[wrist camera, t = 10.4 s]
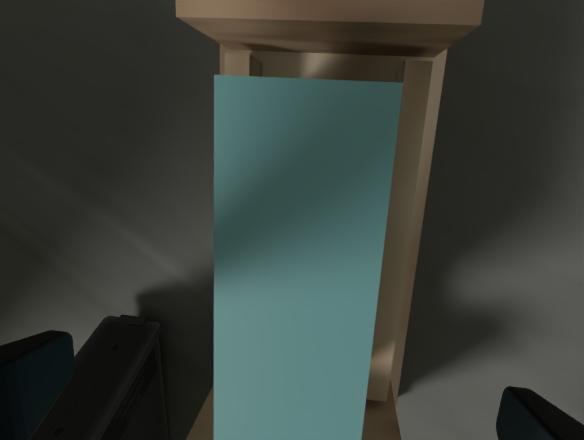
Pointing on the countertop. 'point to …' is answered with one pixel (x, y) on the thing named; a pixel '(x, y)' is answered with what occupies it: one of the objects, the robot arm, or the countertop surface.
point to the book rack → (410, 135)
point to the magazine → (113, 387)
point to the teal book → (298, 251)
